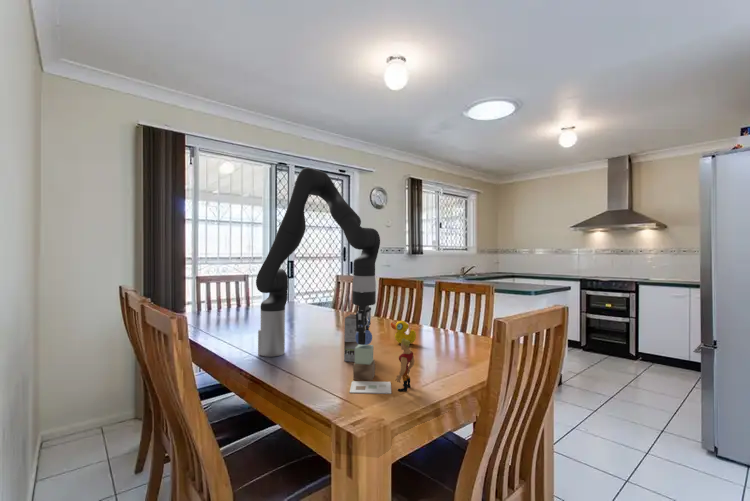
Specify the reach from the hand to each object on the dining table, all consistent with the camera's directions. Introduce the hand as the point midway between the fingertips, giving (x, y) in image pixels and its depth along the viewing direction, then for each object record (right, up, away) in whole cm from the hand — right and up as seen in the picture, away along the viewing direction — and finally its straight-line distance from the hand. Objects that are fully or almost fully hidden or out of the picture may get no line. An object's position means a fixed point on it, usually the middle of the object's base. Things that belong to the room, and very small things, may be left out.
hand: (363, 341), depth 125 cm
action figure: (+13, -12, -10) cm, 20 cm away
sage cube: (0, -7, 0) cm, 7 cm away
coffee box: (-4, -11, +21) cm, 24 cm away
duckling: (+16, -12, +44) cm, 48 cm away
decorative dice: (0, -1, 0) cm, 1 cm away
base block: (0, -12, 0) cm, 12 cm away
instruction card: (+3, -11, -10) cm, 15 cm away
